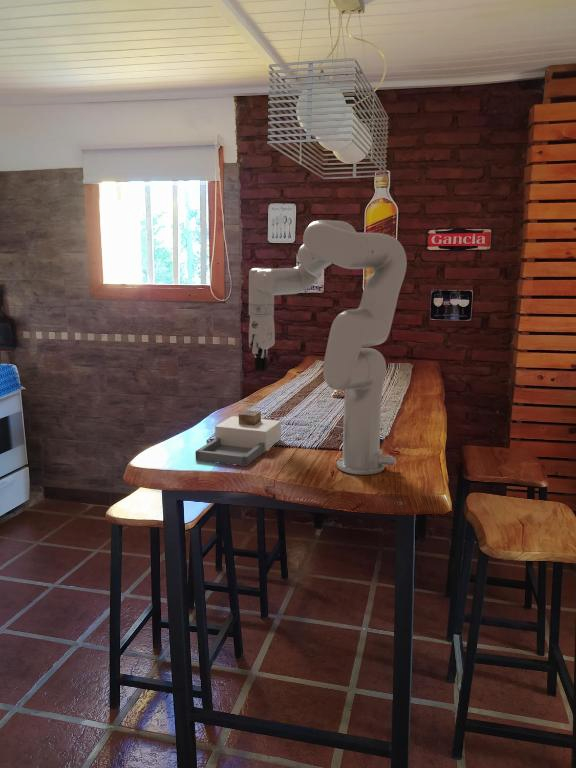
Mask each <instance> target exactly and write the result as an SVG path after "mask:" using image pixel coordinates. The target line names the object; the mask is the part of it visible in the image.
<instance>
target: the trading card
mask: <svg viewBox="0 0 576 768" xmlns="http://www.w3.org/2000/svg"><path fill="white" fill-rule="evenodd" d="M321 426H327V427H332V428H333V427H335V428H341V429H343V426H339V425H338V426H337V425H333V424H332V425H331V424H325V423H322V424H319V425H317V426H315V427H313V428H311V429H310V431H313V430H314V428H315V429H317V428H319V427H321ZM307 431H308V430H307ZM307 431H305V432H306V433H308V432H307ZM305 432H303V433H304V434H306V433H305ZM303 433H301V434H302V435H304V434H303ZM340 434H341V435H343V432H342V433H340Z"/></svg>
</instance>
